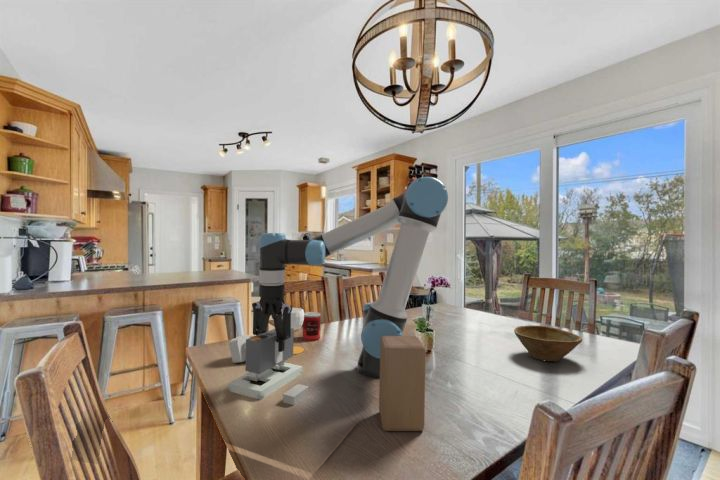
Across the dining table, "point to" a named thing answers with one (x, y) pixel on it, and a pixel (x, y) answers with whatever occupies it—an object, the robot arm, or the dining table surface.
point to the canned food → (311, 326)
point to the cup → (297, 325)
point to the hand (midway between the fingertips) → (271, 360)
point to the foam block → (295, 394)
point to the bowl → (547, 341)
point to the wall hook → (238, 348)
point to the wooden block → (402, 383)
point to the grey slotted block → (265, 352)
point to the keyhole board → (269, 376)
